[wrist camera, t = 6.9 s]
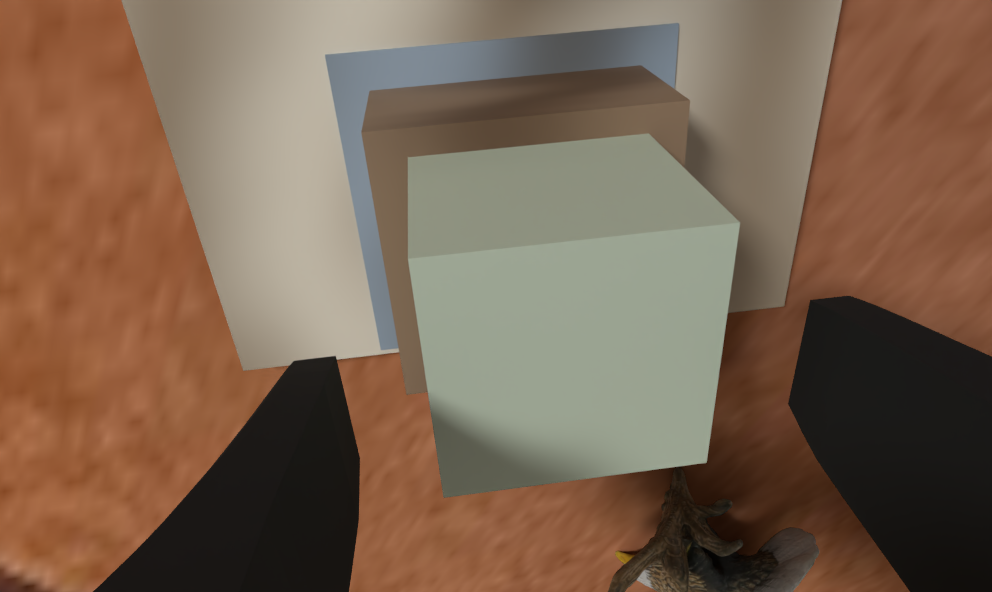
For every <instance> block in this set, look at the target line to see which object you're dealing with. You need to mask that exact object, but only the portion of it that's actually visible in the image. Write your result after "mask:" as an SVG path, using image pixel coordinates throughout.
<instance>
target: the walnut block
mask: <svg viewBox="0 0 992 592" xmlns="http://www.w3.org/2000/svg"><path fill="white" fill-rule="evenodd" d="M689 109H690V100H689V99H688V98H686V97H685V96H684V95H682V94H681V93H679V92H678V91H677V90H675V89H674V88H672V87H671V86H670V85H668V84H667V83H665V82H664V81H663V80H661V79H660V78H658V77H657V76H656V75H654V74H653V73H651V72H650V71H649V70H647V69H646V68H644V67H643V66H642V65H638V66H628V67H617V68H606V69H596V70H585V71H574V72H564V73H553V74H542V75H531V76H521V77H510V78H499V79H489V80H478V81H467V82H457V83H446V84H435V85H425V86H414V87H403V88H393V89H382V90H371V91H369V96H368V101H367V106H366V111H365V116H364V121H363V126H362V131H361V134H362V140H363V145H364V151H365V157H366V163H367V169H368V174H369V180H370V186H371V192H372V198H373V203H374V209H375V215H376V221H377V226H378V232H379V238H380V244H381V250H382V255H383V261H384V267H385V273H386V278H387V284H388V290H389V296H390V302H391V307H392V313H393V319H394V325H395V331H396V336H397V342H398V348H399V354H400V359H401V365H402V371H403V377H404V383H405V388H406V394H407V395H408V394H416V393H425V392H428V390H427V383H426V376H425V370H424V363H423V356H422V350H421V343H420V336H419V330H418V323H417V316H416V310H415V303H414V296H413V290H412V283H411V276H410V270H409V263H408V157H417V156H427V155H437V154H448V153H458V152H468V151H478V150H488V149H498V148H508V147H518V146H528V145H538V144H548V143H558V142H568V141H578V140H588V139H598V138H608V137H619V136H629V135H639V134H650V135H651V136H652V137H653V138H654V139H655V140H656V141H657V142H658V143H659V144H660V145H661V146H662V147H663V148H664V149H665V150H666V151H667V152H668V153H669V154H670V155H671V156H672V157H673V158H674V159H676V160H677V161H678V162H679V163H680V164H681V165H682V166H683V167H685V155H686V144H687V132H688V121H689Z"/></svg>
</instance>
